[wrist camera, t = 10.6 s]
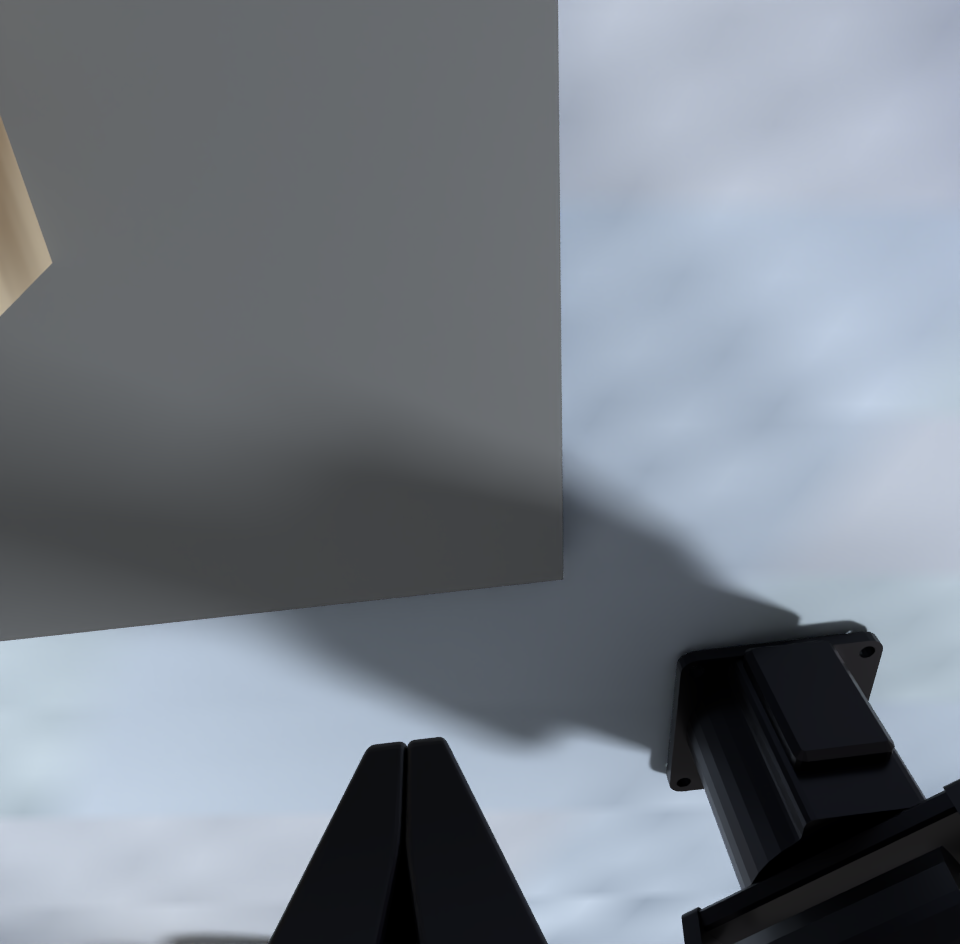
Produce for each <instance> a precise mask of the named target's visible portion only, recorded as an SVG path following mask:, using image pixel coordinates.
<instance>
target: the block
mask: <svg viewBox="0 0 960 944" xmlns="http://www.w3.org/2000/svg"><path fill="white" fill-rule="evenodd" d="M51 264H52V260H51V257H50V255H49V252H48V249H47V246H46V243H45V240H44V238H43V235H42V232H41V229H40V226H39V223H38V221H37V218H36V215H35V212H34V209H33V206H32V204H31V201H30V198H29V195H28V192H27V189H26V187H25V184H24V181H23V178H22V175H21V172H20V170H19V167H18V164H17V161H16V158H15V155H14V153H13V150H12V147H11V144H10V141H9V138H8V136H7V133H6V130H5V127H4V124H3V121H2V118H1V116H0V316H1V315H2V314H3V313H4V312H5V311H6V310H7V309H8V308H9V307H10V306H11V305H12V304H13V303H14V302H15V301H16V300H17V299H18V298H19V297H20V296H21V295H22V293H23V292H24V291H25V290H26V289H27V288H28V287H29V286H30V285H31V284H32V283H33V282H34V281H35V280H36V279H37V278H38V277H39V276H40V275H41V274H42V273H43V272H44V271H45V270H46V269H47V268H48V267H49V266H50V265H51Z"/></svg>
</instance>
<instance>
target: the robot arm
mask: <svg viewBox="0 0 960 944" xmlns="http://www.w3.org/2000/svg"><path fill="white" fill-rule="evenodd" d="M882 651H883V646H882V644H881V643H880V641H879V640H878V639H877V637H876V636H875V634H873V633H871V632H858V633H849V634H840V635H832V636H823V637H814V638H805V639H797V640H788V641H779V642H770V643H762V644H753V645H744V646H735V647H727V648H718V649H709V650H701V651H693V652H689V653H686V654H685V655H683V656H682V657H681V658H680V659H679V660H678V663H677V669H676V680H675V690H674V701H673V711H672V722H671V732H670V743H669V753H668V764H667V774H666V775H667V779H668V782H669V785H670V788H672V789H673V790H675V791H690V790H698V789H705V792H706V795H707V798H708V800H709V803H710V806H711V808H712V811H713V814H714V817H715V819H716V822H717V825H718V827H719V830H720V833H721V836H722V838H723V841H724V844H725V846H726V849H727V852H728V855H729V857H730V860H731V863H732V866H733V868H734V871H735V874H736V876H737V879H738V882H739V885H740V887H741V890H740V891H738V892H736V893H734V894H732V895H730V896H728V897H726V898H724V899H722V900H720V901H718V902H716V903H714V904H711V905H709V906H707V907H705V908H703V909H701V908H699V907H697V908H695V909H693V910H691V911H689V912H687V913H685V914H683V915H682V925H683V933H684V941H685V944H960V779H958V780H956V781H954V782H952V783H950V784H948V785H946V786H944V787H943V788H944V791H942V792H940V793H938V794H936V795H934V796H932V797H930V798H928V799H926V798H925V796H924V795H923V793H922V791H921V790H920V788H919V787H918V785H917V783H916V782H915V780H914V778H913V777H912V775H911V774H910V772H909V770H908V769H907V767H906V765H905V764H904V762H903V761H902V759H901V757H900V756H899V754H898V753H897V751H896V749H895V748H894V747H895V746H894V743H893V741H892V739H891V737H890V736H889V734H888V732H887V731H886V729H885V728H884V726H883V724H882V723H881V721H880V720H879V718H878V716H877V715H876V713H875V711H874V710H873V708H872V707H871V705H870V703H869V702H868V701H869V697H870V694H871V690H872V686H873V683H874V679H875V676H876V672H877V669H878V665H879V662H880V658H881V655H882ZM696 666H697V667H696ZM693 667H695V668H693ZM268 944H548V943H547V941H546V939H545V937H544V935H543V933H542V931H541V929H540V927H539V925H538V923H537V921H536V919H535V917H534V915H533V913H532V911H531V909H530V907H529V905H528V903H527V901H526V899H525V897H524V895H523V893H522V891H521V889H520V887H519V885H518V883H517V881H516V879H515V877H514V875H513V873H512V871H511V869H510V867H509V865H508V863H507V861H506V859H505V857H504V855H503V853H502V851H501V849H500V847H499V845H498V843H497V841H496V839H495V837H494V835H493V833H492V831H491V829H490V827H489V825H488V823H487V821H486V819H485V817H484V815H483V813H482V811H481V809H480V807H479V805H478V803H477V801H476V799H475V797H474V795H473V793H472V791H471V789H470V787H469V785H468V783H467V781H466V779H465V777H464V775H463V773H462V771H461V769H460V767H459V765H458V763H457V761H456V759H455V757H454V755H453V753H452V751H451V749H450V747H449V745H448V743H447V741H446V740H445V739H444V738H442V737H435V738H427V739H418V740H413V741H411V742H410V743H409V744H408V746H407V745H406V744H405V743H403V742H392V743H384V744H375V745H372V746H370V747H369V748H368V749H367V750H366V752H365V753H364V755H363V757H362V759H361V761H360V763H359V765H358V767H357V769H356V771H355V773H354V775H353V777H352V779H351V781H350V783H349V785H348V787H347V789H346V791H345V793H344V795H343V797H342V799H341V801H340V803H339V805H338V807H337V809H336V811H335V813H334V815H333V817H332V818H331V820H330V822H329V824H328V826H327V828H326V830H325V832H324V834H323V836H322V838H321V840H320V842H319V844H318V846H317V848H316V850H315V852H314V854H313V856H312V858H311V860H310V862H309V864H308V866H307V868H306V870H305V872H304V874H303V876H302V878H301V880H300V882H299V884H298V886H297V888H296V890H295V892H294V894H293V896H292V898H291V900H290V902H289V904H288V905H287V907H286V909H285V911H284V913H283V915H282V917H281V919H280V921H279V923H278V925H277V927H276V929H275V931H274V933H273V935H272V937H271V939H270V941H269V943H268Z"/></svg>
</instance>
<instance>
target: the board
mask: <svg viewBox="0 0 960 944" xmlns="http://www.w3.org/2000/svg"><path fill="white" fill-rule="evenodd" d="M0 116H1V118H2V121H3V124H4V127H5V130H6V133H7V136H8V138H9V141H10V144H11V147H12V150H13V153H14V155H15V158H16V161H17V164H18V167H19V170H20V172H21V175H22V178H23V181H24V184H25V187H26V189H27V192H28V195H29V198H30V201H31V204H32V206H33V209H34V212H35V215H36V218H37V221H38V223H39V226H40V229H41V232H42V235H43V238H44V240H45V243H46V246H47V249H48V252H49V255H50V257H51V260H52V264H51V265H50V266H49V267H48V268H47V269H46V270H45V271H44V272H43V273H42V274H41V275H40V276H39V277H38V278H37V279H36V280H35V281H34V282H33V283H32V284H31V285H30V286H29V287H28V288H27V289H26V290H25V291H24V292H23V293H22V295H21V296H20V297H19V298H18V299H17V300H16V301H15V302H14V303H13V304H12V305H11V306H10V307H9V308H8V309H7V310H6V311H5V312H4V313H3V314H2V315H1V316H0V641H7V640H16V639H25V638H34V637H43V636H53V635H62V634H71V633H80V632H89V631H98V630H107V629H116V628H125V627H135V626H144V625H153V624H162V623H171V622H180V621H189V620H198V619H207V618H216V617H226V616H235V615H244V614H253V613H262V612H271V611H280V610H289V609H298V608H307V607H317V606H326V605H335V604H344V603H353V602H362V601H371V600H380V599H389V598H398V597H408V596H417V595H426V594H435V593H444V592H453V591H462V590H471V589H480V588H489V587H499V586H508V585H517V584H526V583H535V582H544V581H553V580H562V579H563V499H562V392H561V285H560V177H559V70H558V0H0Z"/></svg>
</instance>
